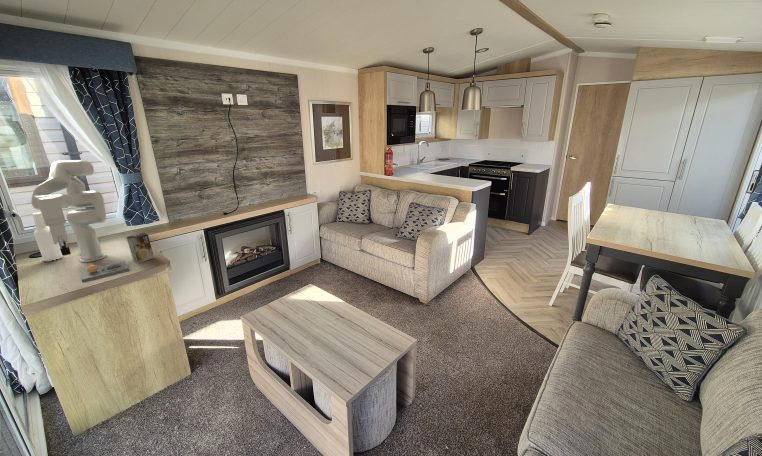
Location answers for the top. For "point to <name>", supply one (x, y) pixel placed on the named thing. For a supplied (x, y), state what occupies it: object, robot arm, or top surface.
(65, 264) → the top surface
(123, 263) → the deck
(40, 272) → the top surface
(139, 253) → the coffee box
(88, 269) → the ball
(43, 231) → the alcohol
